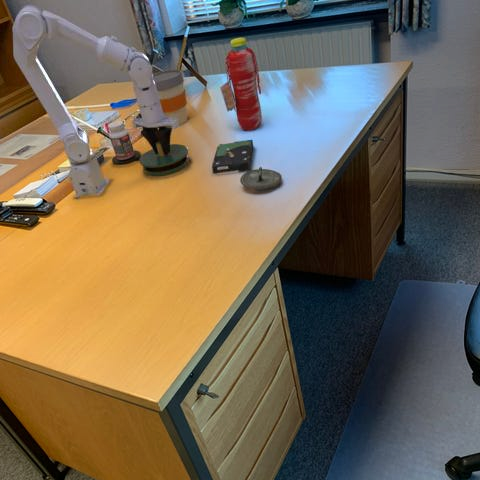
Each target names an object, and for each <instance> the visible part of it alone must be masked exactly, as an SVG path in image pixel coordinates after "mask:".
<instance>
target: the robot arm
mask: <svg viewBox="0 0 480 480" xmlns="http://www.w3.org/2000/svg"><path fill="white" fill-rule="evenodd" d="M11 31H12V48H13V50H12V52H13V58H14V61H15V63H16V64H17V66H18V67H19V69H20V71H21V73H22V74H23V76H24V77H25V79H26V80H27V82H28V84H29V85H30V87H31V89H32V90H33V92H34V94H35V95H36V97H37V99H38V100H39V102H40V104H41V106H42V107H43V108H44V110H45V111H46V113H47V115H48V117H49V118H50V120H51V122H52V123H53V125H54V126H55V128H56V130H57V133H58V135H59V138H60V140H61V142H62V144H63V146H64V153H65V155H66V157H67V158H68V161H69V165H70V169H69V172H68V177H69V180H70V182H71V185H72V187H73V190H74V192H75V194H74V196H73V197H74V199H77V198H78V199H79V198H80V197H87V196H96V195H101V194H102V192H103V191H104V189H105V188H106V187H107V185H108V183H109V182H110V180H111V178H105V176H104V173H103V171H102V169H101V165H100V163H99V160H98V157H97V155H96V152H95V151H94V150H92V149H91V148H90V137H89V135H88V134H87V132H86V131H85V130H83V129H82V128H81V127H80V126H79V124H78V123H77V121H76V119H74V118H73V117H72V115H71V113H70V111H69V110H68V108H67V106H66V105H65V103H64V101H63V100H62V98H61V96H60V95H59V93H58V91H57V89H56V88H55V85H54V84H53V82H52V80H51V79H50V77H49V76H48V74H47V71H46V70H45V69H44V67H43V65H42V63H41V62H40V60H39V58H38V56H37V55H38V51H39V48H40V44H41V43H42V41H43V40H44V38H45V36H46V34H48V35H47V36H48V37H47V38H48V39H49V40H51V39H57V38H63V39H66V40H68V41H70V42H72V43H75V44H77V45H79V46H80V47H83V48H85V49H88V50H90V51H91V52H94V53H95V55H96V57H97V59H98V61H100V62H102V63H103V64H105V65H108V66H110V67H112V68H114V69H115V70H116V69H117V70H118V71H120V72H122V73H128V74H129V76H130V78H131V81H132V85H133V91H134V94H135V98H136V102H137V106H138V109H139V112H140V115H141V117H137V118H136V117H135V118H134V119H132V120H131V125H132V128H133V129H137V128H142V130H140V135H141V136H142V137H143V138H144V139H145V140H146V142H147V143H148V144H149V145H150V147H151V149H153V150H154V152H155V154H158V151H157V147H156V143H157V142H160V144H161V147H162V150H163V153H164V155H167V154H168V153H170V144H171V135H172V131H173V130H176V129H178V128H179V127H180V125H179V124H178V120H177V119H171V118H167V117H165V115H163V112H162V108H161V104H160V100H159V96H158V93H157V89H156V85H155V82H154V81H153V75H152V74H153V66H152V64H151V62H150V61H149V58H148V57H147V55H145V54H144V53H143V52H142V51H141V50H137V49H136V48H135V47H134V46H131V47H129V46H127V45H125V44H123V43H121V42H119V41H118V38H117V37H116V36H113V35H111V37H109V36H108V35H104V36H102V37H97V36H96V35H94V34H92V33H90V32H88V31H86V30H85V29H83V28H81V27H79V26H78V25H76V24H74V23H72V22H70V21H69V20H67V19H65V18H63V17H61V16H59V15H57V14H54V13H52V12H50V11H49V10H45V9H43V10H42V9H41V8H40V7H38V6H36V5H32V4H27V5H25V6H23V7H22V8H21V9H20V10H19V12H18V13H17V15H16V17H15V20H14V22H13V26H12V30H11Z"/></svg>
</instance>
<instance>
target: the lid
mask: <svg viewBox="0 0 480 480" xmlns="http://www.w3.org/2000/svg"><path fill="white" fill-rule="evenodd" d="M282 181H283V179H282V174H281V173H280V172H278V171H276V170H273V169H266V168H262V166H260V167H259V168H257V169H252V170H251V169H250V170H247V171H246V172H245V173H243V174H241V177H240V179H239V182H240V184H241V185H242V186H243V187H245V188H248V189H251V190H269V189H273V188H276V187H278V186H279V185H280V184H281V183H282Z"/></svg>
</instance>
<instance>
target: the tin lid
mask: <svg viewBox="0 0 480 480" xmlns="http://www.w3.org/2000/svg"><path fill="white" fill-rule="evenodd" d="M156 147H157V151H158V154H155V152H154V150H153V149H152V148H151V149H149V150H148V151H146V152H144V153H143V154H141V157H140V159H139V161H138V162H139V164H140V165H141V166H142V167H143V166H144V167H148V168H154V169H155V168H163V167H167V166H171V165H174V164H175V163H178V162H180V161H182V160H183V159H185V158H184V157H185V156H186V155H188V153H189V148H188V147H187V146H186V145H184V144H179V143H170V153H168V154H167V155H164V153H163V150H162V147H161V144H160V142H157V143H156Z"/></svg>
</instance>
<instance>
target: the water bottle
mask: <svg viewBox="0 0 480 480" xmlns="http://www.w3.org/2000/svg"><path fill="white" fill-rule="evenodd" d="M229 45H230V48H231V49H230V50H229V52H228V53H227V55H226V57H225V59H224V60H223V62H224V67H225V73H226V80H227V81H226V82H225V83H224V84H223V85H220V91H221V94H222V98H223V101H224V104H225V108H226V111H227V112H232V111H233V110H234V112H235V113H236V120H237V123H238V124H239V126H240V128H241V129H242V131H253V130H256V129H258V128H260V126H261V124H262V120H263V115H262V114H263V113H262V108H261V103H260V102H261V101H260V98H259V95H261V94H262V89H261V85H260V74H259V68H258V61H257V57H256V54H255V52H254V51H253V49H252V48H249V46H247V39H246V38H245V37H237V38H234V39H231V40H230V42H229Z"/></svg>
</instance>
